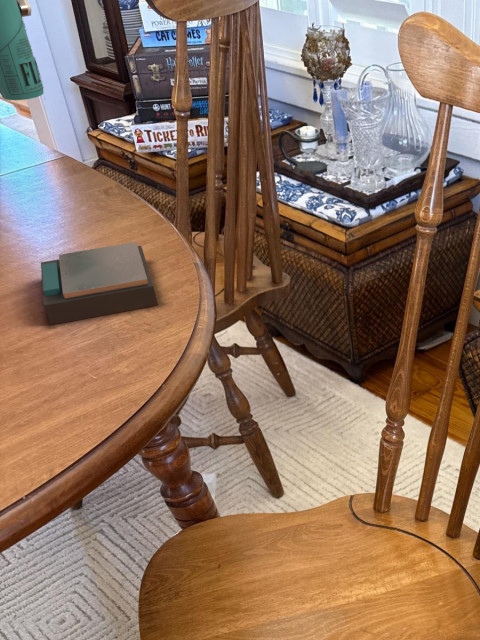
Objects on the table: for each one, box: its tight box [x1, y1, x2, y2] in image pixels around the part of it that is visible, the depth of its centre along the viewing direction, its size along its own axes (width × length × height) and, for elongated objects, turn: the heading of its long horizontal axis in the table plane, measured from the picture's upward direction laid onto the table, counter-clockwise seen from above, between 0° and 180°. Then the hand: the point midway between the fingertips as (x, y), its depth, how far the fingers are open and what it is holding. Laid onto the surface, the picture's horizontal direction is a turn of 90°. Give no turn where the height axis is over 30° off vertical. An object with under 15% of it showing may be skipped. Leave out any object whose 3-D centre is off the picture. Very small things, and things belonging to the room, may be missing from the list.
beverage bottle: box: [0, 0, 45, 101], centre depth 112 cm, size 6×7×20 cm
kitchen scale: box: [40, 241, 159, 326], centre depth 100 cm, size 13×13×3 cm
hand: (0, 17), depth 111 cm, fingers closed on beverage bottle, 6 cm apart
